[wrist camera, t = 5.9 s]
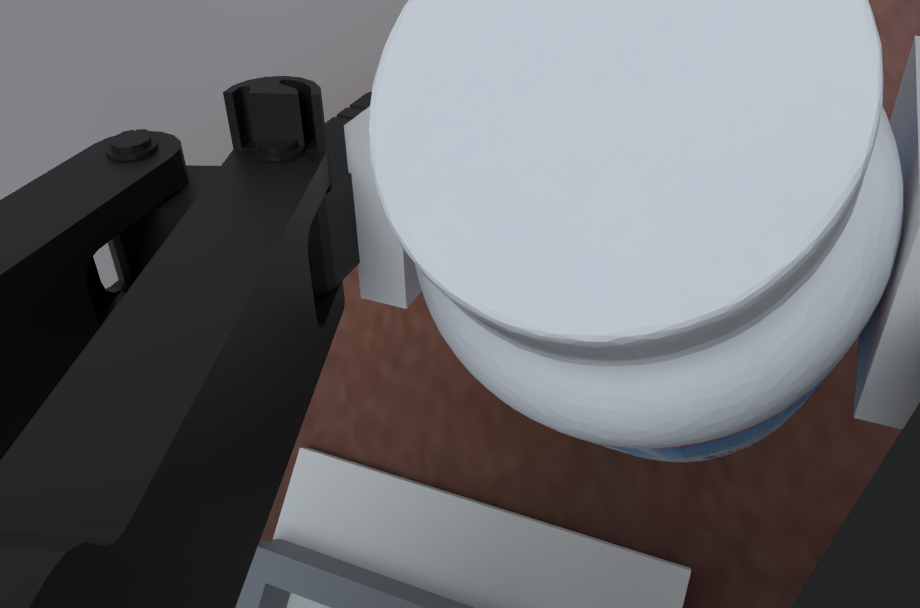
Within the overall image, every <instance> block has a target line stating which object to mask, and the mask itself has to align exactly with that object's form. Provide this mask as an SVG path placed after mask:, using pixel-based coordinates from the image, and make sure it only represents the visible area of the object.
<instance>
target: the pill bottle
mask: <svg viewBox="0 0 920 608" xmlns="http://www.w3.org/2000/svg"><path fill="white" fill-rule="evenodd" d="M882 102H883V64H882V48H881V42H880V38H879V34H878V31H877V27H876V23H875V19H874V16H873V13H872V10H871V7H870V4H869V1H868V0H408V2H407V3H406V5H405V6H404V8H403V10H402V11H401V13H400V16H399V18H398V20H397V22H396V23H395V25H394V27H393V29H392V31H391V33H390V35H389V38H388V40H387V42H386V45H385V47H384V49H383V53H382V56H381V59H380V62H379V65H378V69H377V72H376V75H375V78H374V82H373V89H372V95H371V103H370V110H369V127H368V138H369V152H370V163H371V169H372V173H373V178H374V182H375V187H376V190H377V193H378V196H379V200H380V203H381V206H382V209H383V211H384V214H385V216H386V218H387V220H388V223H389V225H390V227H391V229H392V231H393V233H394V235H395V236H396V238H397V239H398V241H399V243H400V244H401V246H402V247H403V249H404V250H405V252H406V253H407V254H408V256H409V257H410V258H411V259H412V261H413V262H414V263H415V268H416V272H417V276H418V280H419V284H420V287H421V290H422V293H423V296H424V299H425V301H426V304H427V306H428V309H429V311H430V314H431V316H432V318H433V320H434V322H435V324H436V326H437V328H438V330H439V332H440V333H441V335H442V336H443V338H444V339H445V341H446V342H447V344H448V345H449V347H450V348H451V350H452V351H453V352H454V354H455V355H456V356H457V358H458V359H459V360H460V361H461V363H462V364H463V365H464V366H465V367H466V368H467V369H468V371H469V372H470V373H471V374H472V375H473V376H474V377H475V378H476V379H477V380H478V381H479V382H480V383H482V384H483V385H484V386H485V387H486V388H487V389H488V390H489V391H491V392H492V393H493V394H494V395H496V396H497V397H498V398H499V399H501V400H502V401H504V402H505V403H506V404H508V405H509V406H510V407H512V408H513V409H515V410H517V411H518V412H520V413H522V414H523V415H525V416H527V417H529V418H530V419H532V420H534V421H537V422H539V423H541V424H543V425H545V426H547V427H549V428H551V429H553V430H556V431H558V432H560V433H563V434H566V435H568V436H571V437H574V438H578V439H581V440H584V441H588V442H591V443H594V444H598V445H601V446H604V447H607V448H610V449H613V450H617V451H620V452H624V453H627V454H630V455H634V456H637V457H641V458H646V459H652V460H658V461H667V462H696V461H704V460H710V459H714V458H718V457H722V456H726V455H729V454H732V453H735V452H737V451H740V450H742V449H744V448H747V447H749V446H751V445H753V444H755V443H757V442H758V441H760V440H762V439H764V438H765V437H767V436H768V435H769V434H771V433H772V432H774V431H775V430H776V429H778V428H779V427H780V426H781V425H782V424H784V423H785V422H786V421H787V420H788V419H789V418H790V417H791V416H792V415H793V414H794V413H795V412H796V411H797V410H798V409H799V408H800V407H801V406H802V405H803V403H804V402H805V401H806V400H807V399H808V398H809V397H810V396H811V395H812V394H813V392H814V391H815V390H816V389H817V387H818V386H819V385H820V384H821V383H822V382H823V381H824V380H825V378H826V377H827V376H828V375H829V374H830V373H831V372H832V371H833V369H834V368H835V367H836V366H837V365H838V363H839V362H840V361H841V360H842V358H843V357H844V356H845V355H846V353H847V352H848V351H849V349H850V348H851V347H852V345H853V344H854V343H855V341H856V340H857V338H858V337H859V335H860V334H861V332H862V330H863V329H864V327H865V326H866V324H867V322H868V321H869V319H870V317H871V316H872V314H873V312H874V310H875V308H876V306H877V304H878V302H879V301H880V299H881V297H882V295H883V292H884V290H885V288H886V285H887V283H888V281H889V278H890V276H891V272H892V269H893V265H894V261H895V258H896V254H897V251H898V246H899V242H900V237H901V230H902V219H903V178H902V171H901V164H900V159H899V154H898V149H897V145H896V140H895V138H894V135H893V132H892V129H891V126H890V124H889V121H888V118H887V115H886V113H885V110H884V108H883V106H882Z"/></svg>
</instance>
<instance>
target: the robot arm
mask: <svg viewBox="0 0 920 608" xmlns="http://www.w3.org/2000/svg"><path fill="white" fill-rule="evenodd" d="M223 94H224V100H225V105H226V111H227V116H228V122H229V127H230V133H231V138H232V144H233V151H232V152H231V153H230V155H229V156H228V157H227V159H226V160H225V162H224V163H223V164H222V166H186V164H185V160H184V155H183V151H182V147H181V142H180V140H179V139H177V138H176V137H175V136H174V135H171V134H167V133H164V132H154V131H153V132H152V131H148V130H146V129H143V130H142V129H141V130H136V131H134V130H130V131H124V132H122V133H121V134H118V135H116V136H113V137H109V138H106V139H104V140H102V141H100V142H98V143H95V144H93V145H92V146H90V147H88V148H87V149H85V150H83V151H82V152H80V153H78V154H77V155H75V156H73V157H72V158H70V159H68V160H67V161H65V162H63V163H62V164H60V165H58V166H57V167H55V168H53V169H52V170H50V171H48V172H47V173H45V174H43V175H42V176H40V177H38V178H37V179H35V180H33V181H32V182H30V183H28V184H27V185H25V186H23V187H22V188H20V189H18V190H17V191H15V192H13V193H12V194H10V195H8V196H6V197H5V198H3V199H1V200H0V608H235V607H236V604H237V602H238V599H239V596H240V593H241V591H242V588H243V585H244V582H245V580H246V577H247V574H248V571H249V569H250V566H251V563H252V560H253V558H254V555H255V552H256V549H257V547H258V544H259V541H260V538H261V536H262V533H263V530H264V527H265V525H266V522H267V519H268V516H269V514H270V511H271V508H272V505H273V503H274V500H275V497H276V494H277V492H278V489H279V486H280V483H281V481H282V478H283V475H284V472H285V470H286V467H287V464H288V461H289V459H290V456H291V453H292V450H293V448H294V445H295V442H296V439H297V437H298V434H299V431H300V428H301V426H302V423H303V420H304V417H305V415H306V412H307V409H308V406H309V404H310V401H311V398H312V395H313V393H314V390H315V387H316V384H317V382H318V379H319V376H320V373H321V371H322V368H323V365H324V362H325V360H326V357H327V354H328V351H329V349H330V346H331V343H332V340H333V338H334V335H335V332H336V329H337V327H338V324H339V321H340V318H341V316H342V313H343V310H344V290H343V281H342V280H343V279H344V278H345V277H346V276H347V275H348V274H349V273H350V272H351V271H352V270H353V269H354V268H355V267H356V266H357V265H358V274H359V284H360V294H361V298H363V299H368V300H372V301H376V302H380V303H384V304H388V305H392V306H396V307H400V308H405V309H407V308H408V307H409V305H410V304H411V303H412V302H413V301H414V299H415V298H416V297H417V296H418V295H419V293H420V292H421V291H422V290H421V287H420V284H419V280H418V276H417V272H416V268H415V263H414V262H413V261H412V259H411V258H410V257H409V256H408V254H407V253H406V252H405V250H404V249H403V247H402V246H401V244H400V243H399V241H398V239H397V238H396V236H395V235H394V233H393V231H392V229H391V227H390V225H389V223H388V220H387V218H386V216H385V214H384V211H383V209H382V206H381V203H380V200H379V196H378V193H377V190H376V187H375V182H374V178H373V173H372V169H371V163H370V152H369V138H368V127H369V110H370V103H371V95H372V92H369V93H366V94H365V95H363V96H362V97H361V98H359V99H358V100H356V101H355V102H354V103H352V104H351V105H350V108H345V109H344V110H343V111H341V112H340V113H338V114H337V117H333V118H331V119H330V120H329V121H328V122H326V123H324V114H323V105H322V97H321V88H320V87H319V86H318V85H317V84H316V83H315V82H313V81H310V80H307V79H304V78H300V77H290V76H275V77H263V78H258V79H252V80H247V81H245V82H242V83H239V84H236V85H234V86H232V87H230V88H229V89H227V90H226V91H224V92H223ZM889 124H890V126H891V129H892V132H893V135H894V138H895V140H896V145H897V149H898V154H899V159H900V164H901V171H902V178H903V219H902V230H901V237H900V242H899V246H898V251H897V254H896V258H895V261H894V265H893V269H892V272H891V276H890V278H889V281H888V283H887V285H886V288H885V290H884V292H883V295H882V297H881V299H880V301H879V302H878V304H877V306H876V308H875V310H874V312H873V314H872V316H871V317H870V319H869V321H868V322H867V324H866V326H865V327H864V329H863V330H862V332H861V334H860V335H859V349H858V363H857V377H856V391H855V404H854V418H857V419H861V420H865V421H869V422H873V423H877V424H881V425H885V426H889V427H893V428H898V429H902V431H901V433H900V434H899V436H898V438H897V439H896V441H895V442H894V444H893V446H892V447H891V449H890V450H889V452H888V454H887V455H886V457H885V458H884V460H883V462H882V463H881V465H880V466H879V468H878V470H877V471H876V473H875V474H874V476H873V478H872V479H871V481H870V482H869V484H868V486H867V487H866V489H865V490H864V492H863V494H862V495H861V497H860V498H859V500H858V502H857V503H856V505H855V506H854V508H853V510H852V511H851V513H850V514H849V516H848V517H847V519H846V521H845V522H844V524H843V525H842V527H841V529H840V530H839V532H838V533H837V535H836V537H835V538H834V540H833V541H832V543H831V545H830V546H829V548H828V549H827V551H826V553H825V554H824V556H823V557H822V559H821V561H820V562H819V564H818V565H817V567H816V569H815V570H814V572H813V573H812V575H811V577H810V578H809V580H808V581H807V583H806V585H805V586H804V588H803V589H802V591H801V593H800V594H799V596H798V597H797V599H796V601H795V602H794V604H793V605H792V607H791V608H920V36H915V38H914V41H913V44H912V48H911V51H910V55H909V58H908V61H907V65H906V68H905V71H904V75H903V78H902V82H901V85H900V88H899V92H898V95H897V98H896V102H895V105H894V109H893V112H892V115H891V119H890V122H889ZM106 243H108V245H109V249H110V252H111V255H112V259H113V262H114V266H115V269H116V272H117V276H118V279H119V280H118V281H117V282H116V283H114V284H113V285H112V286H111V287H109V288H106V289H105V288H104V286H103V284H102V283H101V281H100V277H99V274H98V271H97V268H96V264H95V262H94V258H93V255H94V254H95V253H96V252H97V250H98V249H99V248H101V247H102V246H103V245H105V244H106Z"/></svg>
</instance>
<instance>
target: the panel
mask: <svg viewBox="0 0 920 608" xmlns="http://www.w3.org/2000/svg"><path fill="white" fill-rule="evenodd" d="M690 574H691V568H689V567H686V566H683V565H679V564H676V563H673V562H670V561H667V560H664V559H660V558H657V557H654V556H651V555H648V554H644V553H641V552H638V551H635V550H632V549H629V548H625V547H622V546H619V545H616V544H613V543H610V542H606V541H603V540H600V539H597V538H594V537H590V536H587V535H584V534H581V533H578V532H575V531H571V530H568V529H565V528H562V527H559V526H555V525H552V524H549V523H546V522H543V521H540V520H536V519H533V518H530V517H527V516H524V515H521V514H517V513H514V512H511V511H508V510H505V509H501V508H498V507H495V506H492V505H489V504H486V503H482V502H479V501H476V500H473V499H470V498H467V497H463V496H460V495H457V494H454V493H451V492H447V491H444V490H441V489H438V488H435V487H432V486H428V485H425V484H422V483H419V482H416V481H412V480H409V479H406V478H403V477H400V476H397V475H393V474H390V473H387V472H384V471H381V470H378V469H374V468H371V467H368V466H365V465H362V464H358V463H355V462H352V461H349V460H346V459H343V458H339V457H336V456H333V455H330V454H327V453H323V452H320V451H317V450H314V449H311V448H300V450H299V453H298V457H297V460H296V463H295V467H294V470H293V473H292V477H291V480H290V483H289V487H288V490H287V493H286V497H285V500H284V503H283V507H282V510H281V514H280V517H279V520H278V524H277V527H276V530H275V534H274V537H273V540H267V541H260V542H259V544H258V547H257V549H256V552H255V555H254V558H253V560H252V563H251V566H250V569H249V571H248V574H247V577H246V580H245V582H244V585H243V588H242V591H241V593H240V596H239V599H238V602H237V604H236V607H235V608H682V607H683V603H684V599H685V595H686V591H687V586H688V582H689V578H690Z"/></svg>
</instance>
